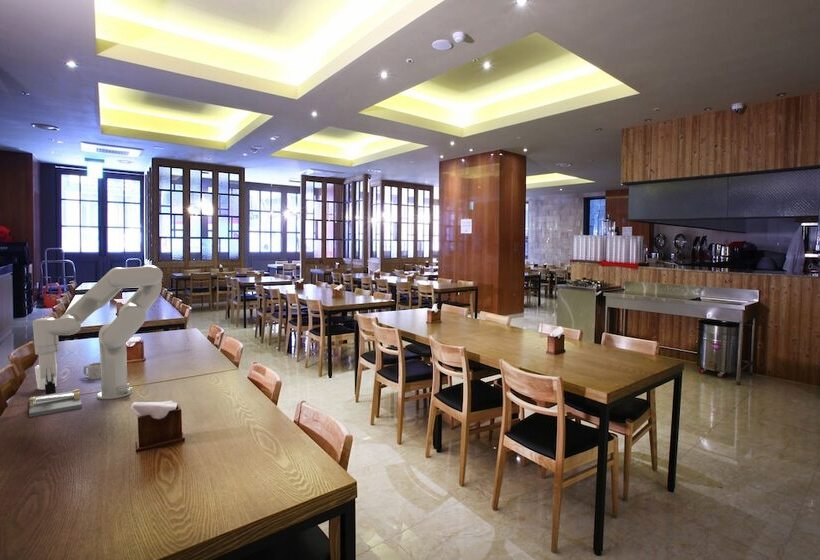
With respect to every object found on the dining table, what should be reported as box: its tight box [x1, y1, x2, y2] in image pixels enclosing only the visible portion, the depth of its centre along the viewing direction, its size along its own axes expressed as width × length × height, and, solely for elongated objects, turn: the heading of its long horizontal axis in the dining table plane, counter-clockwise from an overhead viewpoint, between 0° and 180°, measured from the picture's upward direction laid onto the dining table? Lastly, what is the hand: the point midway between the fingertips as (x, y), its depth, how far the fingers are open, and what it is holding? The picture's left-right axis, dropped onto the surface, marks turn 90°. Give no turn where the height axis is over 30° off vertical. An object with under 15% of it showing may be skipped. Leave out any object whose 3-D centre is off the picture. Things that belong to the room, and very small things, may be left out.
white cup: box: [34, 363, 58, 391], centre depth 203 cm, size 8×8×10 cm
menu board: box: [28, 388, 83, 418], centre depth 182 cm, size 16×22×4 cm
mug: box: [83, 362, 101, 380], centre depth 219 cm, size 10×7×7 cm
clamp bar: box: [35, 393, 74, 402], centre depth 183 cm, size 14×3×1 cm, turn 130°
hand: (50, 393), depth 181 cm, fingers closed
